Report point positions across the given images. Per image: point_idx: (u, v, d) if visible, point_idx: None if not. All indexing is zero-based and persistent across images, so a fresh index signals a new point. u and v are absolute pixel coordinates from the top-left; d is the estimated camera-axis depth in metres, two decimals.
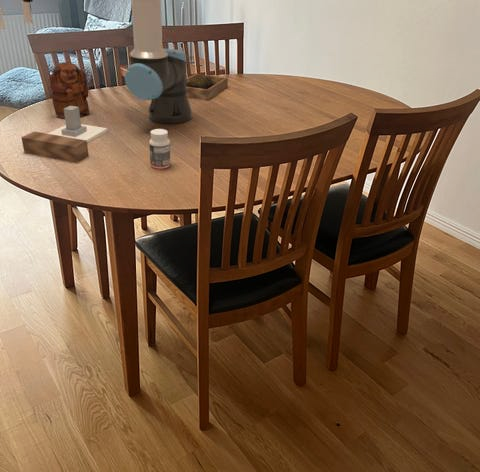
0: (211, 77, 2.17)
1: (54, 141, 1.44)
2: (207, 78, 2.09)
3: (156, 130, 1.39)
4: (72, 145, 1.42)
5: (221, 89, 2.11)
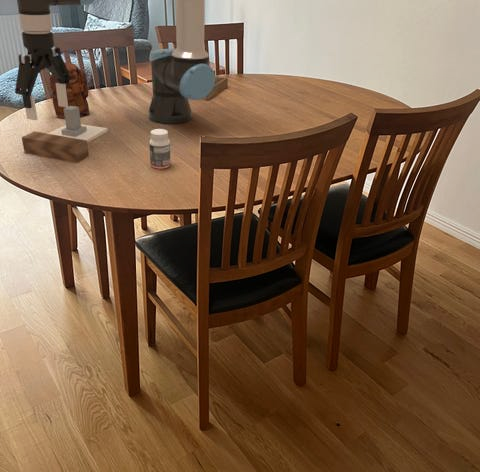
0: None
1: (54, 141, 1.44)
2: None
3: (156, 130, 1.39)
4: (72, 145, 1.42)
5: (221, 89, 2.11)
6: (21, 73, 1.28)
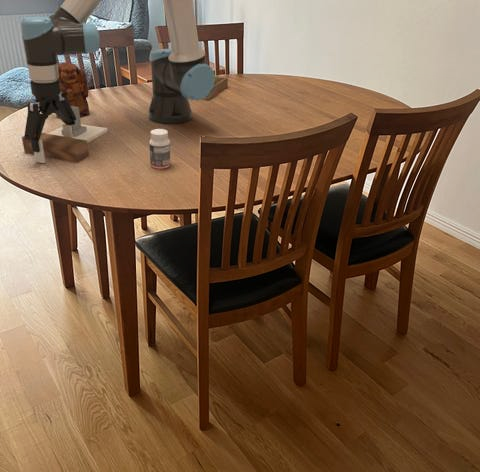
0: None
1: (54, 141, 1.44)
2: None
3: (156, 130, 1.39)
4: (72, 145, 1.41)
5: (221, 89, 2.11)
6: (30, 120, 1.35)
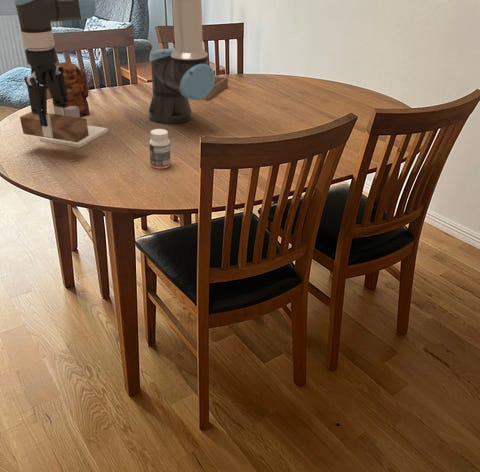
0: None
1: (53, 120, 1.41)
2: None
3: (156, 130, 1.39)
4: (71, 123, 1.39)
5: (221, 89, 2.11)
6: (32, 95, 1.33)
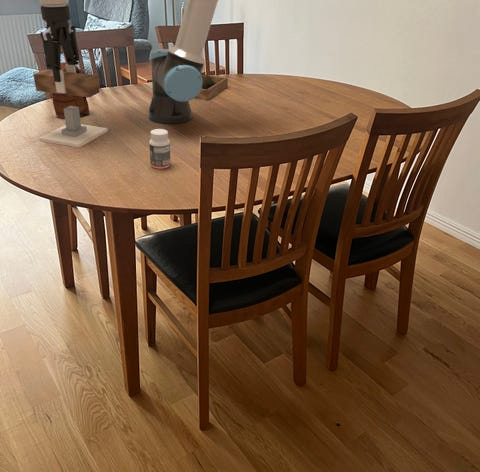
0: (211, 77, 2.17)
1: (65, 76, 1.47)
2: (207, 77, 2.11)
3: (156, 130, 1.39)
4: (84, 78, 1.45)
5: (221, 89, 2.11)
6: (47, 50, 1.39)
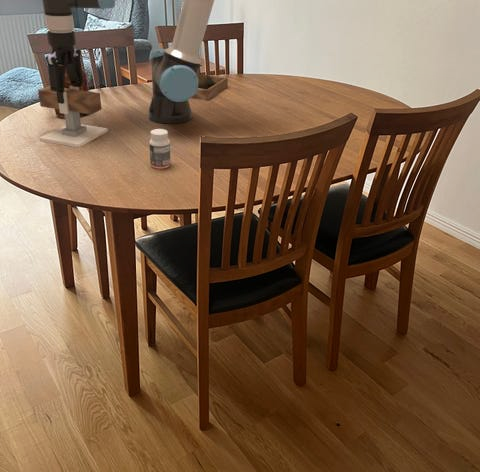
0: (211, 77, 2.17)
1: (69, 93, 1.52)
2: (207, 77, 2.11)
3: (156, 130, 1.39)
4: (86, 96, 1.50)
5: (221, 89, 2.11)
6: (52, 73, 1.45)
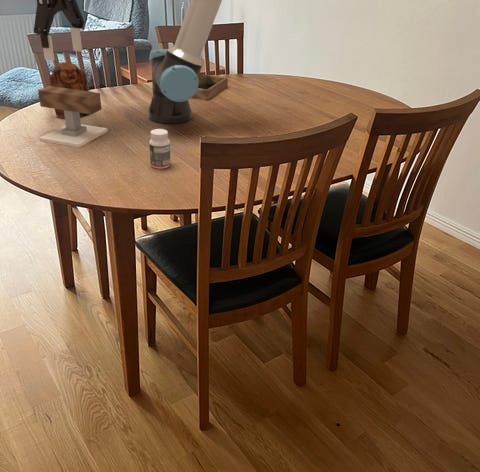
0: (211, 77, 2.17)
1: (69, 93, 1.52)
2: (207, 77, 2.11)
3: (156, 130, 1.39)
4: (86, 96, 1.50)
5: (221, 89, 2.11)
6: (39, 13, 1.35)
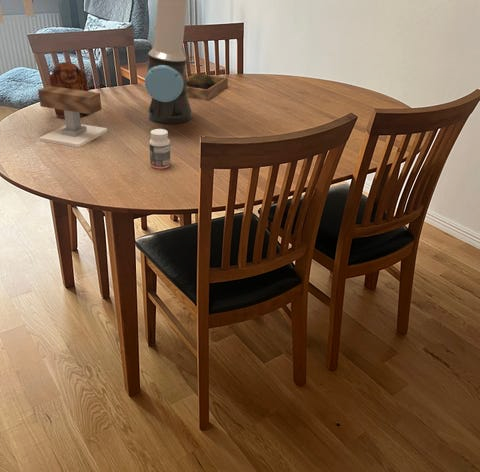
0: (211, 77, 2.17)
1: (69, 93, 1.52)
2: (207, 77, 2.11)
3: (156, 130, 1.39)
4: (86, 96, 1.50)
5: (221, 89, 2.11)
6: None
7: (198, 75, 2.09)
